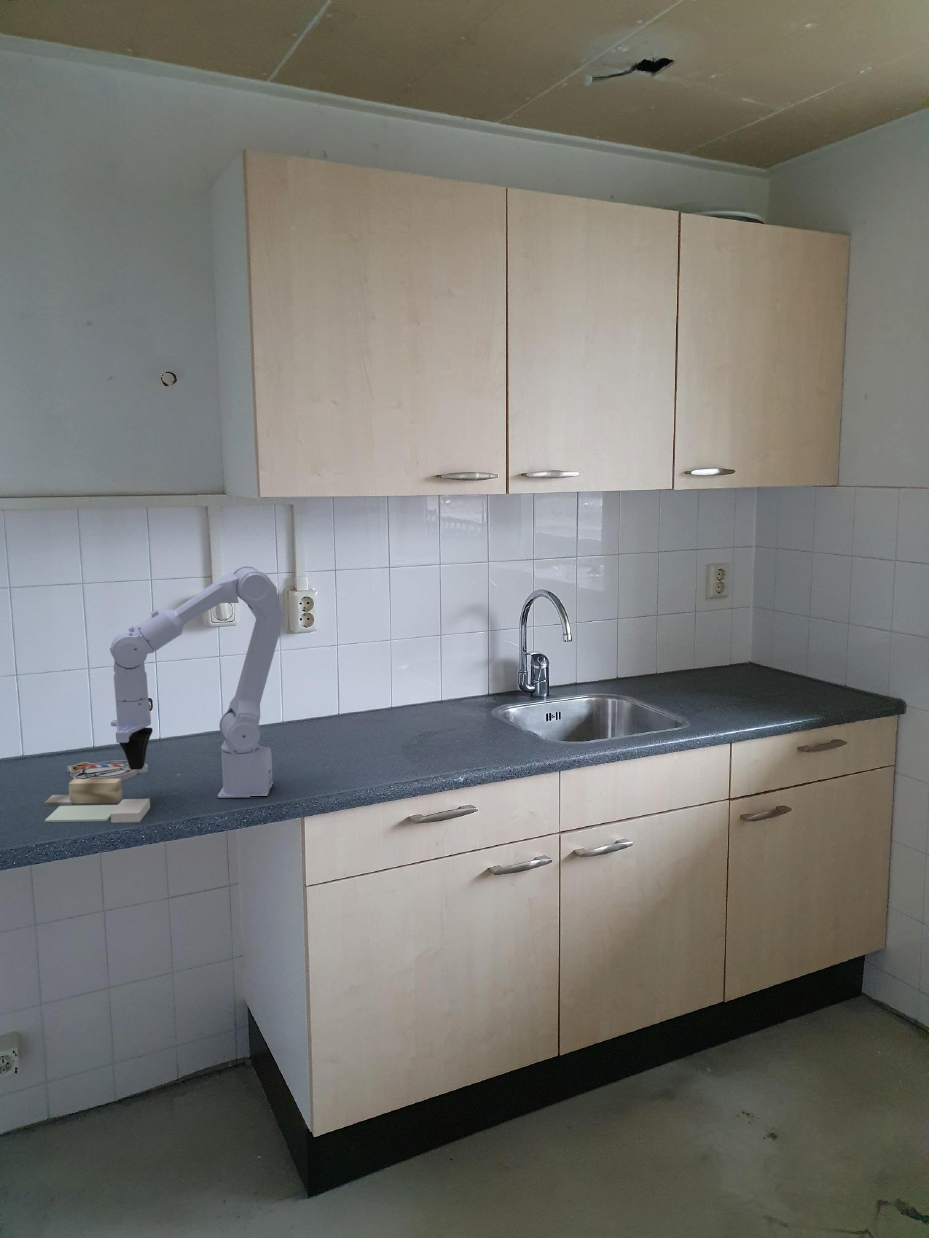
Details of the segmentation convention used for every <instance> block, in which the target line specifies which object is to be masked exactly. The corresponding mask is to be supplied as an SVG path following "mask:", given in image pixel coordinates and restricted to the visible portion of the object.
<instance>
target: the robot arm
mask: <svg viewBox="0 0 929 1238" xmlns="http://www.w3.org/2000/svg"><path fill="white" fill-rule="evenodd" d="M239 599H240V600H242V601H243V602H244V603H245V604H246V605H247V607H248V608H249V610H250V611H251V613H252V614H253V617H254V618H255V622H254V626H253V628H252V629H253V630H252V632H251V637H250V641H249V644H248V648H247V651H246V654H245V658H244V662H243V665H242V669H241V672H240V673H241V674H240V677H239V680H238V683H237V686H236V687H237V688H236V691H235V695H234V696H233V698H232V699H231V701H230V702H229V706H228V708H227V711H225V713H224V714H222V717H221V718H220V720H219V725H218V727H219V730H220V733H221V734H222V736H223V737H224V740H223V743H222V744H221V746H220V749H221V751H220V752H221V753H220V754H221V768H222V787H221V789H220V791H219V793H218V794H217V798H222V799H225V798H226V799H229V798H251V797H250V796H267V797H268V795H269V793H270V791H271V789H270V788H272V787H273V785H272V784H274V781H273V779H274V778H273V760H272V759H273V758H272V755H273V754H272V749H271V747H270V746H269V747H268V746H266V747H265V746H261V745H260V743H259V742H260V738H261V731H260V726H259V725H260V719H261V701H262V698H263V695H264V692H265V687H266V684H267V680H268V676H269V672H270V669H271V666H272V662H273V659H274V654H275V652H276V648H277V643H278V640H279V637H280V632H281V629H282V625H283V623H284V617H285V615H284V610H283V608H282V604H281V602H280V599H279V595H278V590H277V586H276V585H275V583H274V582H273V581H272V580H271V579H270V577H269V576H268V575H267V574H266V573H264V572H262V571H259V570H258V569H257V568H255V567H252V566H249V565H248V566H247V565H246V566H241V567H239V568H237V569H236V570H234V572H233V573H232V572H229V573H227V574H225V575H224V576H222V577H221V578H219V579H217V580H215V581H214V582H213V583H212V584H210V585H208V586H207V587H205V588H204V589H203V590H201V591H200V592H198V593H197V594H196V595H194V596H193V597H191V598H190V599H189V600H187V601H186V602H184V603H183V604H181V605H180V606H178V607H177V608H176V609H173V610H171V609H166V608H162V609H161V610H160V611H158V610H157V609H155V610H153V611H151V612H150V617H148V618H147V619H145V620H144V621H142V622H140V623H139V624H138V625H136V626H134V625H131V626H129V627H128V628H127V629H128V630H127V631H129V632H122V633H119V634H118V635H116V636H115V637H114V638H113V641H112V642H111V644H110V645H111V646H110V648H109V651H110V654H111V656H112V658H113V660H114V661H113V671H114V675H113V684H114V685H113V686H114V699H115V708H116V709H115V711H116V719H114V720H112V721H111V722H110V727H116V731H115V742H116V743H117V744H119V746H121V748H122V750H123V752H124V755H125V757H126V761H128V764H129V766H130V769H131V770H135V769H142V768H143V767H144V764H146V755H147V749H148V744H149V741H150V738H151V736H152V734H153V727H149V726H150V725H152V717H151V716H152V715H151V710H150V706H149V705H150V703H149V702H150V701H149V691H148V676H147V672H146V667H145V662H146V660H147V656H148V654H153V653H155V652H156V651H158V650H160V649H161V648H162V647H164V646H166V645H167V644H170V642H172V641H174V640H176V638H178V637H179V636H181V635H182V633H183V629H184V627H185V625H186V624H188V623H189V622H191V621H192V620H194V619H197V617H200V616H201V615H203V614H204V613H206V612H208V611H210V610H211V609H213V608H215V607H217V606H219V605H220V604H239V603H240V602H239ZM269 790H270V791H269Z"/></svg>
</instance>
